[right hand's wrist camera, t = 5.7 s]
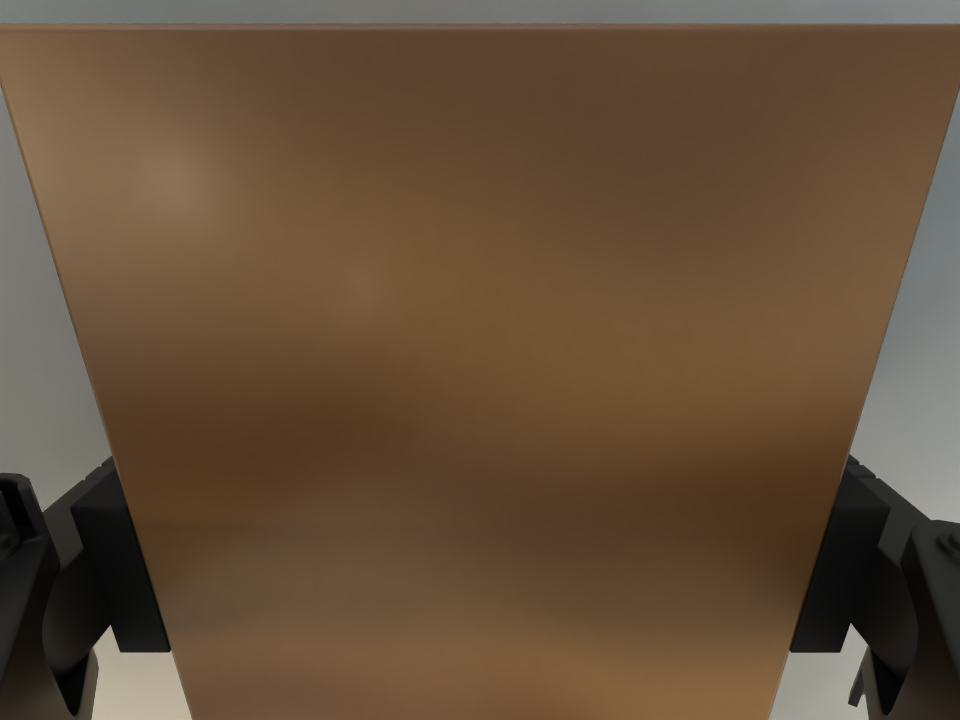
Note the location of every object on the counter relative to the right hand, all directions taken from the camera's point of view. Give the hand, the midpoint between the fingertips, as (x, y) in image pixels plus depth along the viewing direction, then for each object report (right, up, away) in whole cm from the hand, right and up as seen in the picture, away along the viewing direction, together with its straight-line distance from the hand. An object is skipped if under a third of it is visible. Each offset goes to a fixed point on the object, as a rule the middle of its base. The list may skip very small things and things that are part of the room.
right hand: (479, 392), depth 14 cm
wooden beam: (0, -30, +12) cm, 32 cm away
